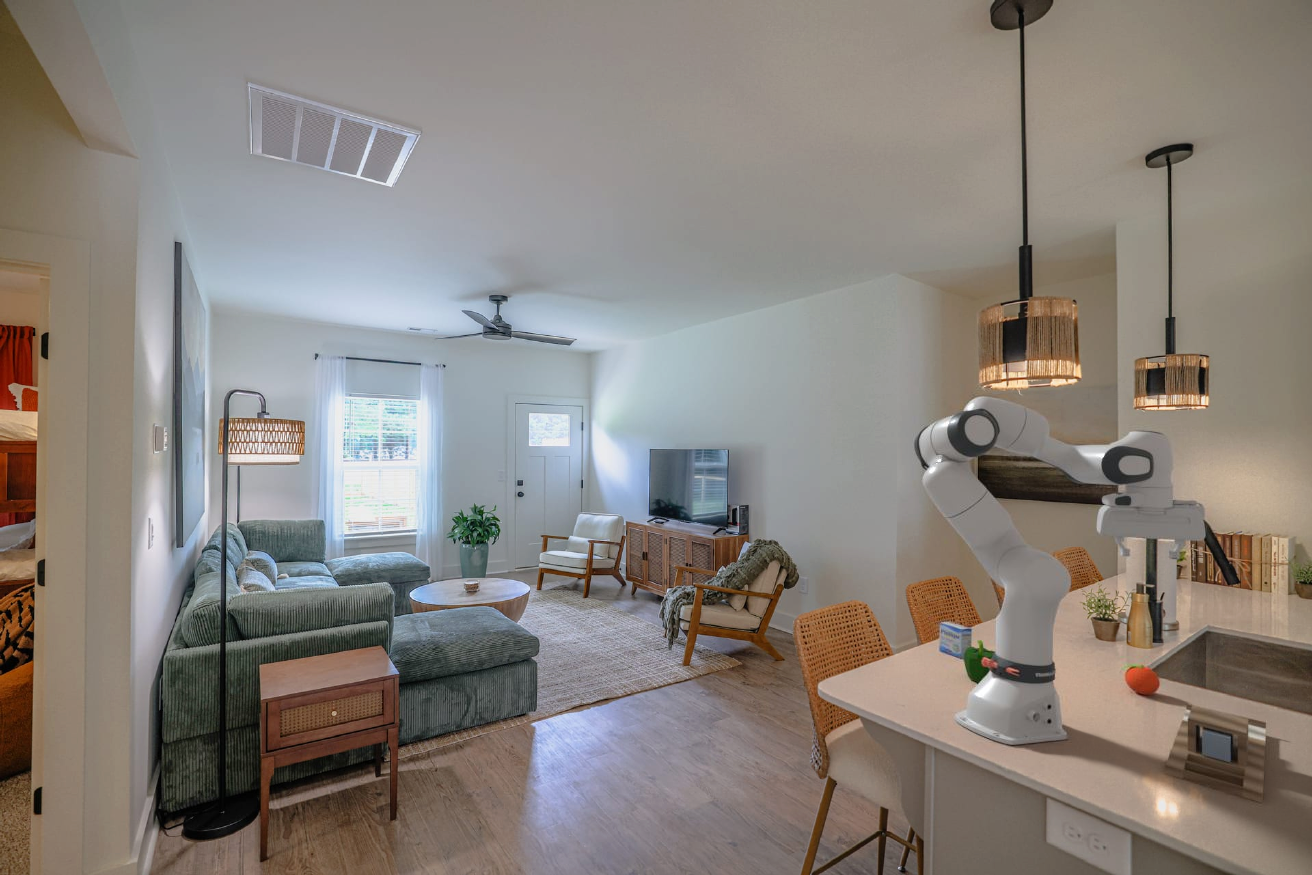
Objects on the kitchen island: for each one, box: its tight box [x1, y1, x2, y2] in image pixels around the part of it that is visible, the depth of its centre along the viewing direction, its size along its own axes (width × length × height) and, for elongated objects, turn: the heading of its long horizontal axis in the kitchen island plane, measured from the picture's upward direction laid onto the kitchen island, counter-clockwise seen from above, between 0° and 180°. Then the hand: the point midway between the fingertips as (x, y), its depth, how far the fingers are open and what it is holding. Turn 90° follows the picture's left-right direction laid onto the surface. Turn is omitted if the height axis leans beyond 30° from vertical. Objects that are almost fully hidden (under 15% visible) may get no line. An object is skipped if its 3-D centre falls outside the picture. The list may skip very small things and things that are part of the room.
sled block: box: [1202, 708, 1235, 762], centre depth 123 cm, size 16×4×4 cm, turn 134°
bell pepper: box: [963, 639, 995, 683], centre depth 161 cm, size 8×8×10 cm
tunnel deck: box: [1165, 703, 1267, 804], centre depth 124 cm, size 38×13×8 cm, turn 134°
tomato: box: [1119, 664, 1161, 696], centre depth 155 cm, size 8×7×7 cm
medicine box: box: [938, 621, 973, 660], centre depth 183 cm, size 8×4×9 cm, turn 25°
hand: (1149, 557), depth 145 cm, fingers open, 8 cm apart
